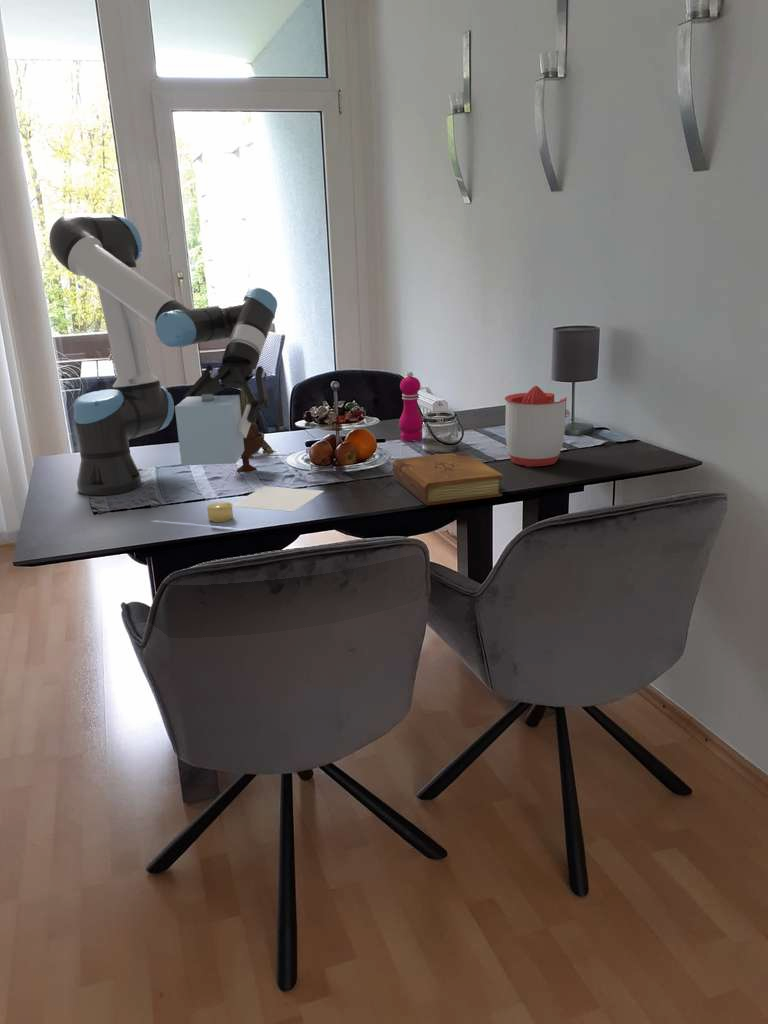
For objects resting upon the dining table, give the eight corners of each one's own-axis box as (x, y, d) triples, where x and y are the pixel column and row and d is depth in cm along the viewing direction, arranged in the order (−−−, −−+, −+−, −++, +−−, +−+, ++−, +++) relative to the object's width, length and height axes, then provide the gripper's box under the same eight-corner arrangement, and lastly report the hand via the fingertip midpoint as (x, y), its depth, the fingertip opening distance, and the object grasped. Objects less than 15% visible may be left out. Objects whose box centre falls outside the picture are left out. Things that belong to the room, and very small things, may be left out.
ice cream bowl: (259, 477, 206) (255, 419, 201) (218, 476, 208) (213, 418, 204) (273, 466, 216) (269, 410, 211) (234, 465, 218) (229, 410, 213)
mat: (230, 507, 182) (230, 505, 182) (264, 488, 196) (264, 486, 196) (294, 513, 177) (293, 511, 177) (324, 492, 191) (324, 490, 191)
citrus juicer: (582, 464, 208) (585, 386, 201) (522, 472, 202) (524, 393, 196) (550, 451, 222) (552, 378, 215) (493, 458, 216) (493, 383, 210)
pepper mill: (400, 436, 245) (399, 369, 239) (424, 436, 244) (423, 369, 238) (397, 441, 238) (396, 373, 232) (422, 441, 237) (421, 373, 231)
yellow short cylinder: (204, 521, 174) (202, 505, 173) (225, 515, 177) (224, 500, 176) (216, 527, 170) (214, 511, 169) (237, 521, 173) (236, 505, 172)
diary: (393, 482, 200) (392, 459, 199) (463, 473, 205) (463, 451, 204) (424, 507, 179) (424, 482, 177) (502, 497, 184) (502, 473, 183)
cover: (181, 465, 163) (174, 400, 159) (193, 452, 174) (186, 391, 170) (236, 463, 163) (229, 398, 159) (244, 450, 174) (238, 389, 170)
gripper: (300, 362, 177) (273, 445, 168) (203, 360, 185) (172, 440, 177) (287, 340, 171) (258, 425, 162) (187, 339, 179) (155, 421, 170)
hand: (213, 433), depth 169 cm, fingers closed on cover, 13 cm apart
